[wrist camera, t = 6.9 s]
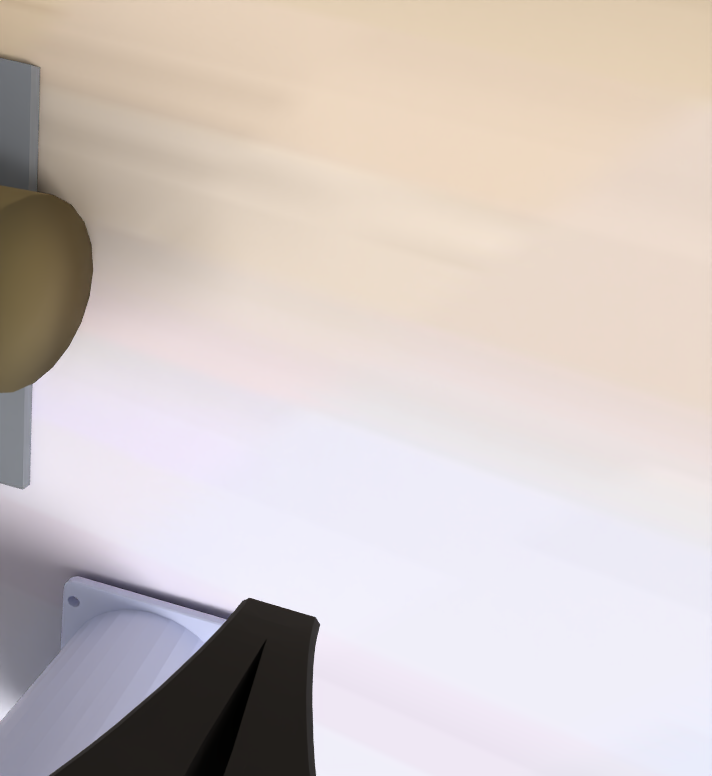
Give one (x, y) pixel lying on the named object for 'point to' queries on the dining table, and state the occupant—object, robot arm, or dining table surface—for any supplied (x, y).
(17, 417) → the mat
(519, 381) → the dining table surface
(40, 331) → the cork
